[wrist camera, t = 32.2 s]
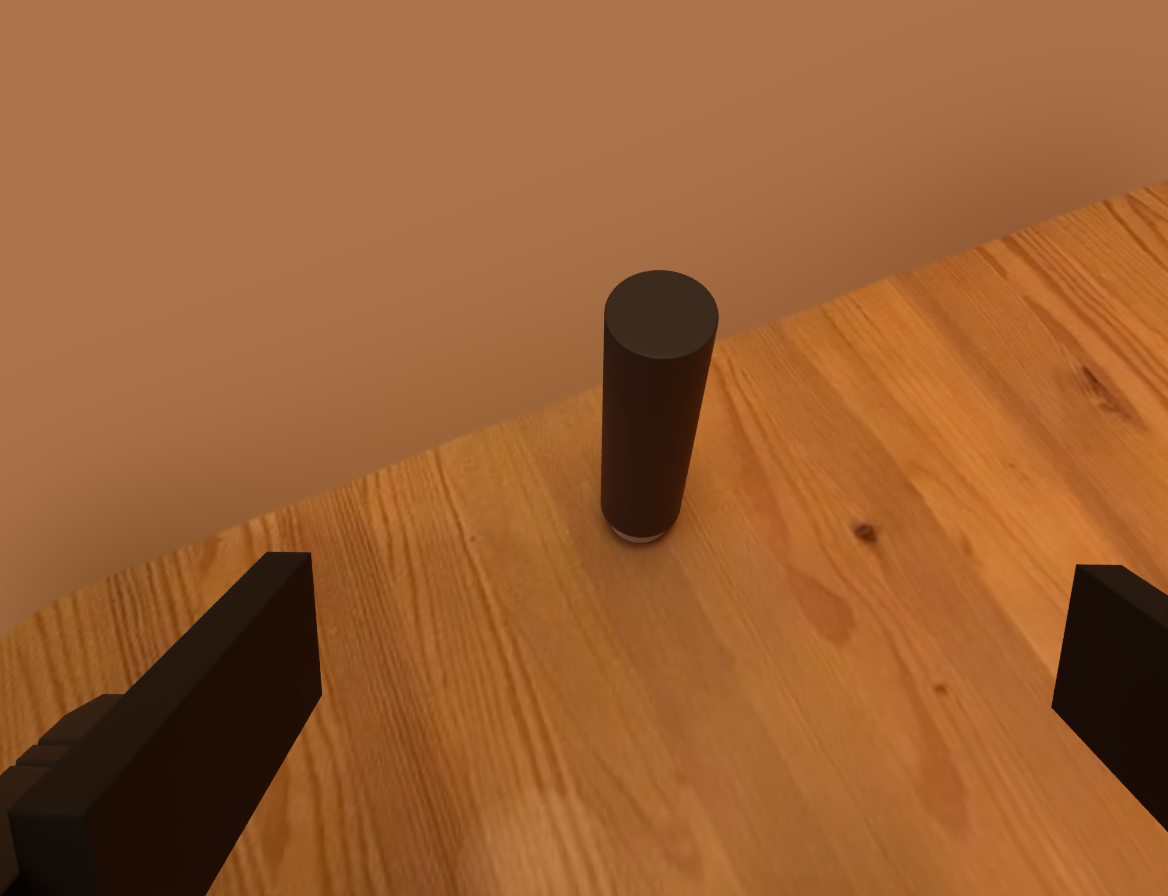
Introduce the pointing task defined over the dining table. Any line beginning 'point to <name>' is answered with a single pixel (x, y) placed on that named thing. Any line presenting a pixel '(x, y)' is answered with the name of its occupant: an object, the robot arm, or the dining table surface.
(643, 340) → the dark brown cylinder
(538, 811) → the dining table surface
